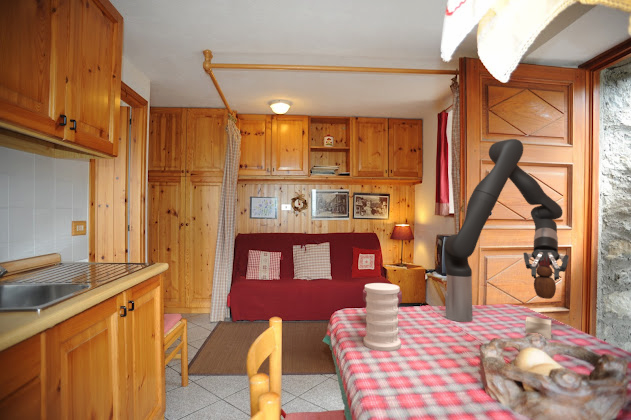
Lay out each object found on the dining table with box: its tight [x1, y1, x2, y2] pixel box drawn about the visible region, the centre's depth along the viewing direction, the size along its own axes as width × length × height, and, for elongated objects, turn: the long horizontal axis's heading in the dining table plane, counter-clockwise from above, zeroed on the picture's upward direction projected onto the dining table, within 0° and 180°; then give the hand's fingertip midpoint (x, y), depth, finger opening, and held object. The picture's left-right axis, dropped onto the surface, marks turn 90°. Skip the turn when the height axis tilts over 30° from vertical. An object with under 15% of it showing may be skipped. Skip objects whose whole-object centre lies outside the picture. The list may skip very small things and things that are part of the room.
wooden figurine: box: [533, 256, 557, 300], centre depth 115 cm, size 7×6×15 cm
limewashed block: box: [524, 316, 552, 340], centre depth 109 cm, size 7×6×5 cm
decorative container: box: [363, 282, 402, 352], centre depth 102 cm, size 12×12×18 cm
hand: (545, 278), depth 113 cm, fingers closed on wooden figurine, 5 cm apart
